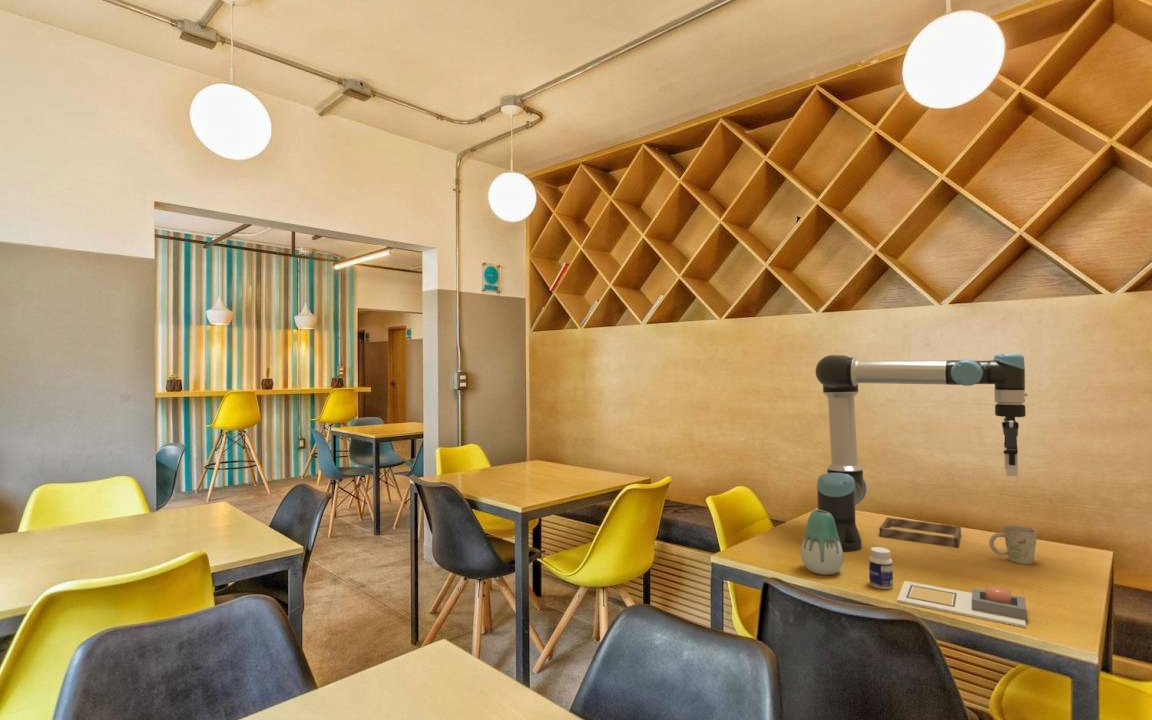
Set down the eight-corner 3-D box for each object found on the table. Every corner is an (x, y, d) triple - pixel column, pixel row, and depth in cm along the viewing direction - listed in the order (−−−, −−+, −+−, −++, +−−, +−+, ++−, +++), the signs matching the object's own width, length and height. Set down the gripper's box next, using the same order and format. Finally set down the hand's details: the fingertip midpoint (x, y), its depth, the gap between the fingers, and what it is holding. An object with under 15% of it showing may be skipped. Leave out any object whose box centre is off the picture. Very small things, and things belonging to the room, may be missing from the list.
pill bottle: (865, 582, 160) (864, 546, 161) (884, 581, 161) (883, 546, 161) (877, 590, 155) (876, 553, 155) (897, 589, 155) (897, 552, 155)
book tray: (879, 536, 204) (879, 528, 204) (887, 525, 219) (887, 517, 219) (958, 548, 191) (958, 538, 191) (960, 535, 205) (960, 526, 206)
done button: (985, 603, 140) (985, 590, 140) (985, 596, 144) (985, 584, 145) (1011, 608, 138) (1011, 595, 138) (1010, 601, 142) (1010, 588, 142)
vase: (841, 567, 173) (840, 507, 174) (845, 580, 162) (844, 516, 163) (800, 563, 177) (799, 504, 177) (801, 575, 166) (800, 513, 166)
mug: (1044, 566, 172) (1043, 533, 172) (997, 564, 175) (996, 531, 175) (1028, 557, 180) (1027, 525, 180) (983, 555, 183) (982, 523, 183)
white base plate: (897, 601, 147) (896, 590, 147) (904, 583, 160) (904, 572, 160) (1027, 628, 131) (1027, 615, 131) (1024, 604, 144) (1024, 592, 144)
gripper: (1028, 406, 165) (1029, 480, 165) (1022, 402, 185) (1024, 467, 185) (995, 405, 169) (996, 477, 169) (994, 401, 190) (995, 465, 189)
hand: (1011, 472), depth 177 cm, fingers open, 13 cm apart
